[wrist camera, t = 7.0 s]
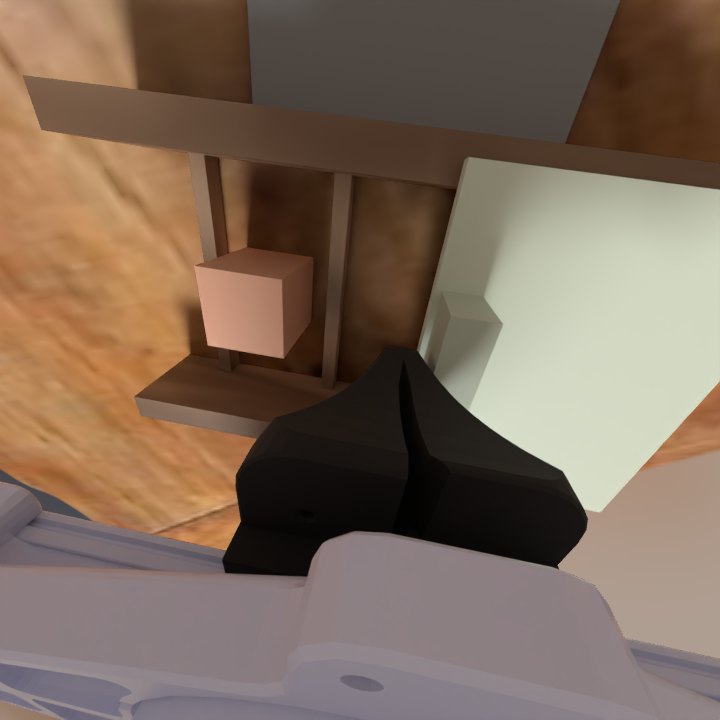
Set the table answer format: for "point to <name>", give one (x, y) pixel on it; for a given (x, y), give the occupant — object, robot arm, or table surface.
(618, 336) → the cover
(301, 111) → the brown wooden frame
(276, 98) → the mat
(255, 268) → the block
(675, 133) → the table surface
